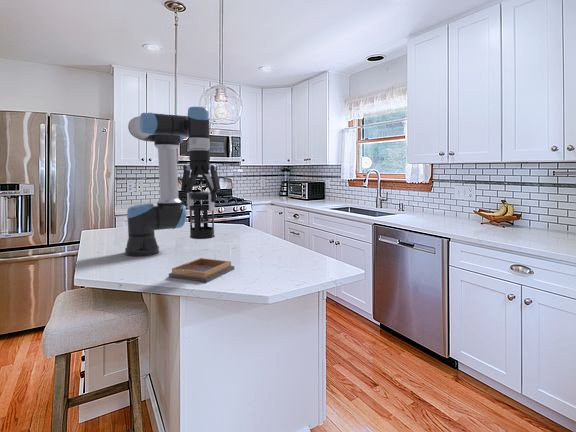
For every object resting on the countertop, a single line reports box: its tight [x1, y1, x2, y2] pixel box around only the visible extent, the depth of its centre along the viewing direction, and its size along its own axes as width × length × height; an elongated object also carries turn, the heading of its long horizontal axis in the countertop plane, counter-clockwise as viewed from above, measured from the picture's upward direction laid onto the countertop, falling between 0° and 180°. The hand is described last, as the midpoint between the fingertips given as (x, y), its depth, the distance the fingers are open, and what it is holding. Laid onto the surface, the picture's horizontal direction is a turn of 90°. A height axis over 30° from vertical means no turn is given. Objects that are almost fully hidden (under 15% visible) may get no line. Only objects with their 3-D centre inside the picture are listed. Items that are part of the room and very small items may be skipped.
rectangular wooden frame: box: [168, 257, 235, 283], centre depth 139 cm, size 17×19×3 cm
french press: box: [189, 176, 216, 240], centre depth 135 cm, size 12×9×23 cm
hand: (201, 210), depth 136 cm, fingers closed on french press, 9 cm apart
